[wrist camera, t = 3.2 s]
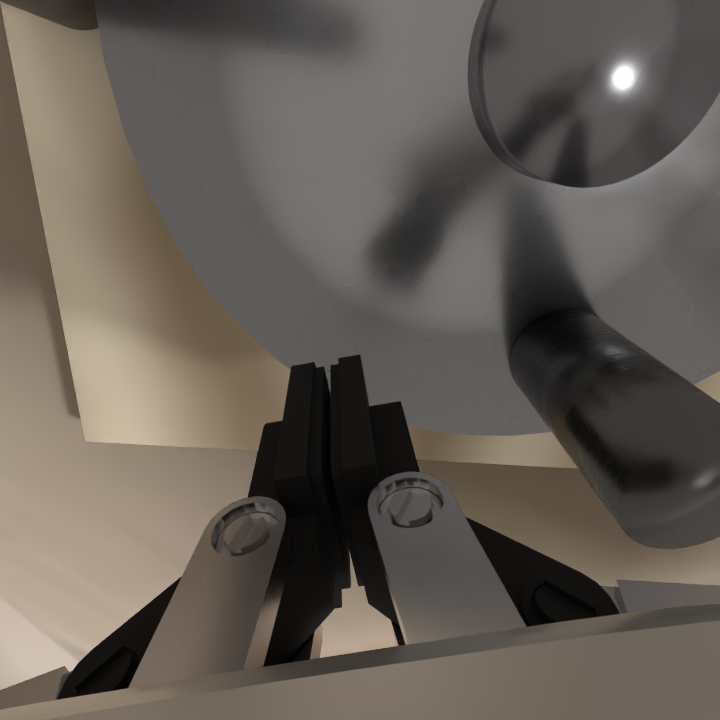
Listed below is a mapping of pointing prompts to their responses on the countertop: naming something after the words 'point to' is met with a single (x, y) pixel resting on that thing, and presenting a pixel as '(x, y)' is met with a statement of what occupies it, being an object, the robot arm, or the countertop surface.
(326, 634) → the countertop surface
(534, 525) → the countertop surface
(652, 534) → the flange plate
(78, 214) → the base board
